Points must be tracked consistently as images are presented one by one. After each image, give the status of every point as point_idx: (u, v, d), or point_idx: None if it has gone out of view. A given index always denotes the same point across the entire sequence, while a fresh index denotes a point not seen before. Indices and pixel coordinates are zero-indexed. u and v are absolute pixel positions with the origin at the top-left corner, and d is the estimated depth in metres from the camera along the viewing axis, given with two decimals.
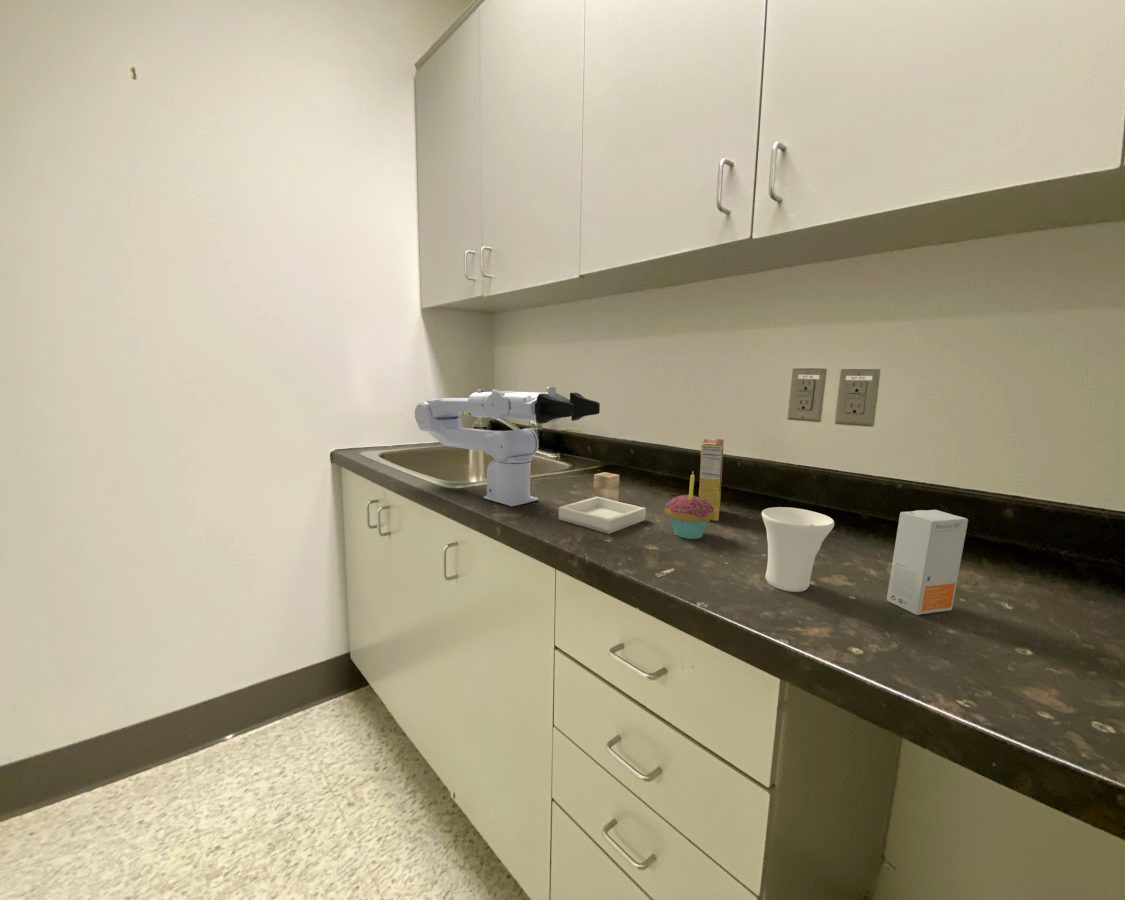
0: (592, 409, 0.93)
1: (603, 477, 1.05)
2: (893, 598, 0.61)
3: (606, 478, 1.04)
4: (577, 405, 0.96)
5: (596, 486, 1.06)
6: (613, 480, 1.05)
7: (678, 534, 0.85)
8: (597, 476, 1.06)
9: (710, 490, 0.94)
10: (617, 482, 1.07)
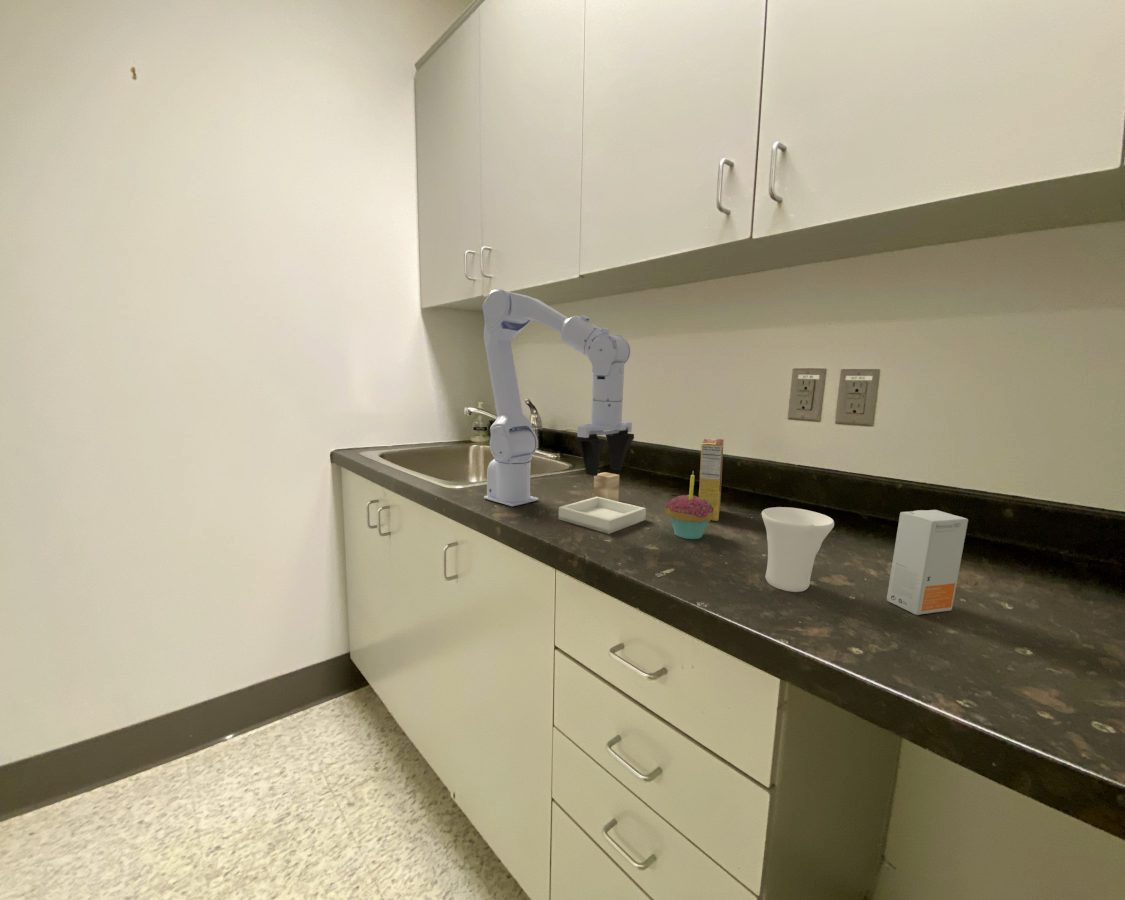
0: (614, 463, 0.95)
1: (603, 477, 1.05)
2: (893, 598, 0.61)
3: (606, 478, 1.04)
4: (618, 444, 0.94)
5: (596, 486, 1.06)
6: (613, 480, 1.05)
7: (678, 534, 0.85)
8: (597, 476, 1.06)
9: (710, 490, 0.94)
10: (617, 482, 1.07)
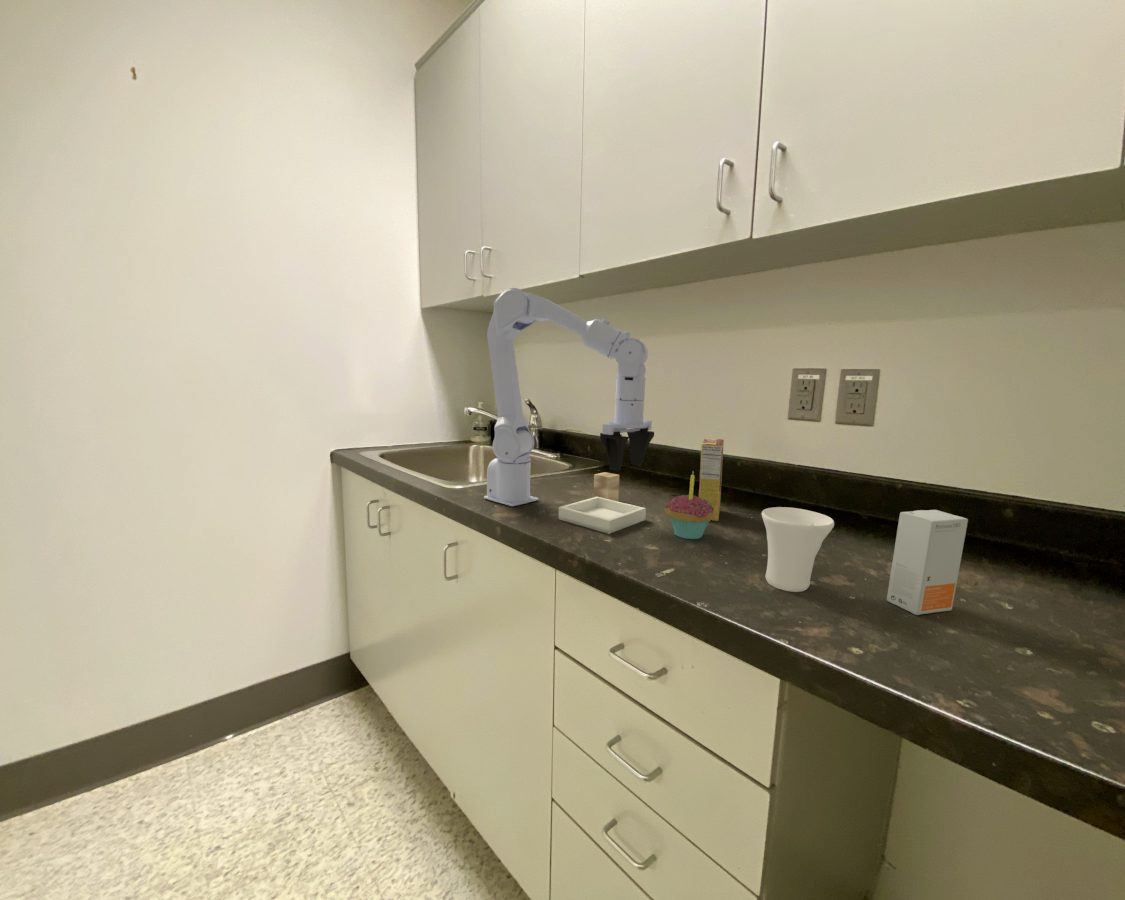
0: (634, 459, 1.00)
1: (603, 477, 1.05)
2: (893, 598, 0.61)
3: (606, 478, 1.04)
4: (638, 441, 0.99)
5: (596, 486, 1.06)
6: (613, 480, 1.05)
7: (678, 534, 0.85)
8: (597, 476, 1.06)
9: (710, 490, 0.94)
10: (617, 482, 1.07)
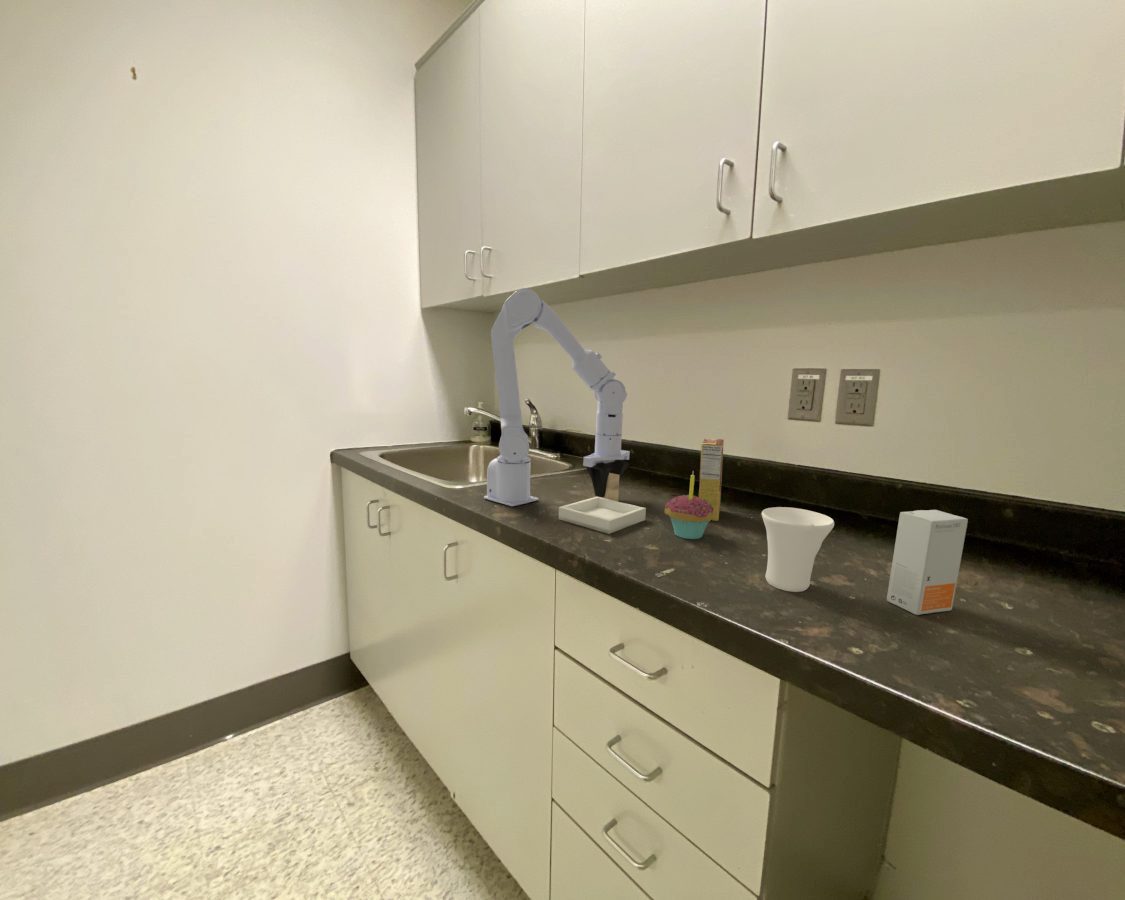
0: None
1: None
2: (893, 598, 0.61)
3: None
4: (613, 471, 1.08)
5: None
6: (613, 480, 1.05)
7: (678, 534, 0.85)
8: None
9: (710, 490, 0.94)
10: (617, 482, 1.07)
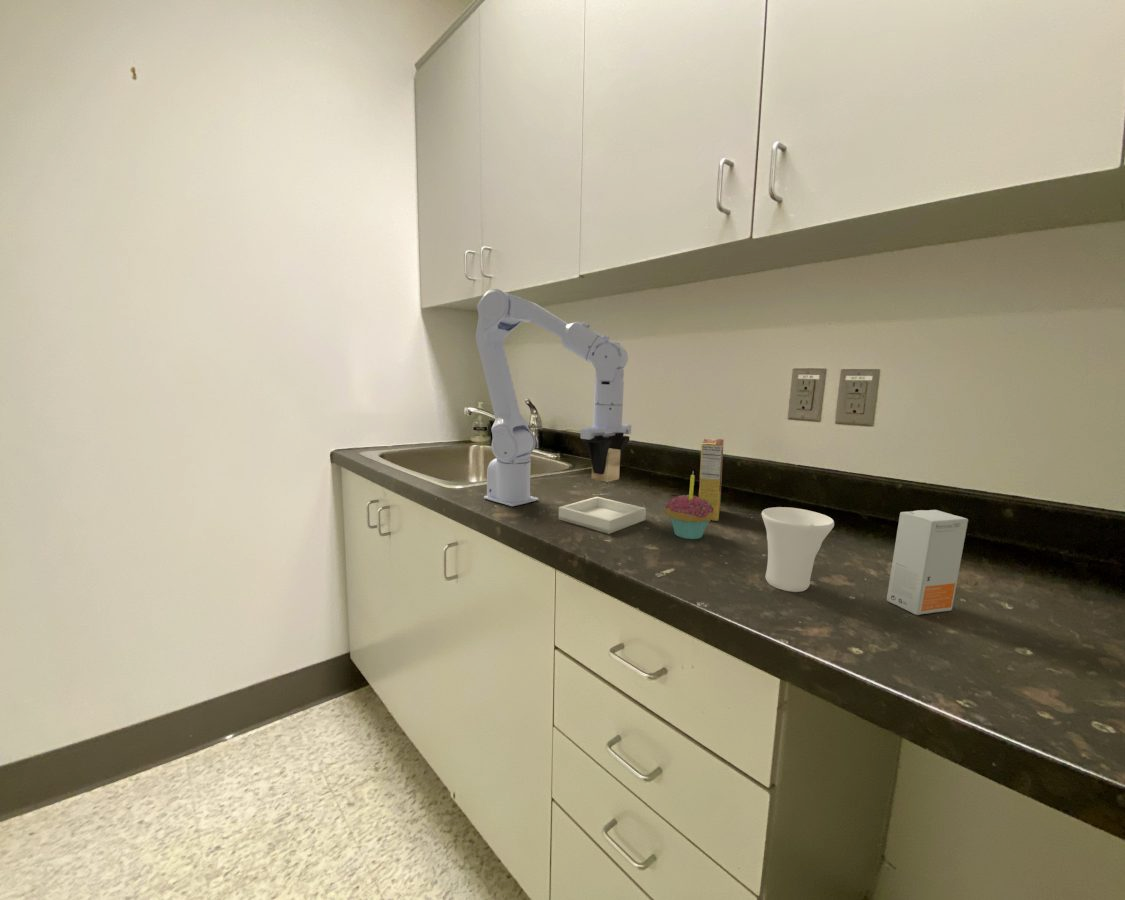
0: None
1: None
2: (893, 598, 0.61)
3: None
4: (614, 445, 0.98)
5: None
6: (613, 455, 0.95)
7: (678, 534, 0.85)
8: None
9: (710, 490, 0.94)
10: (618, 458, 0.96)
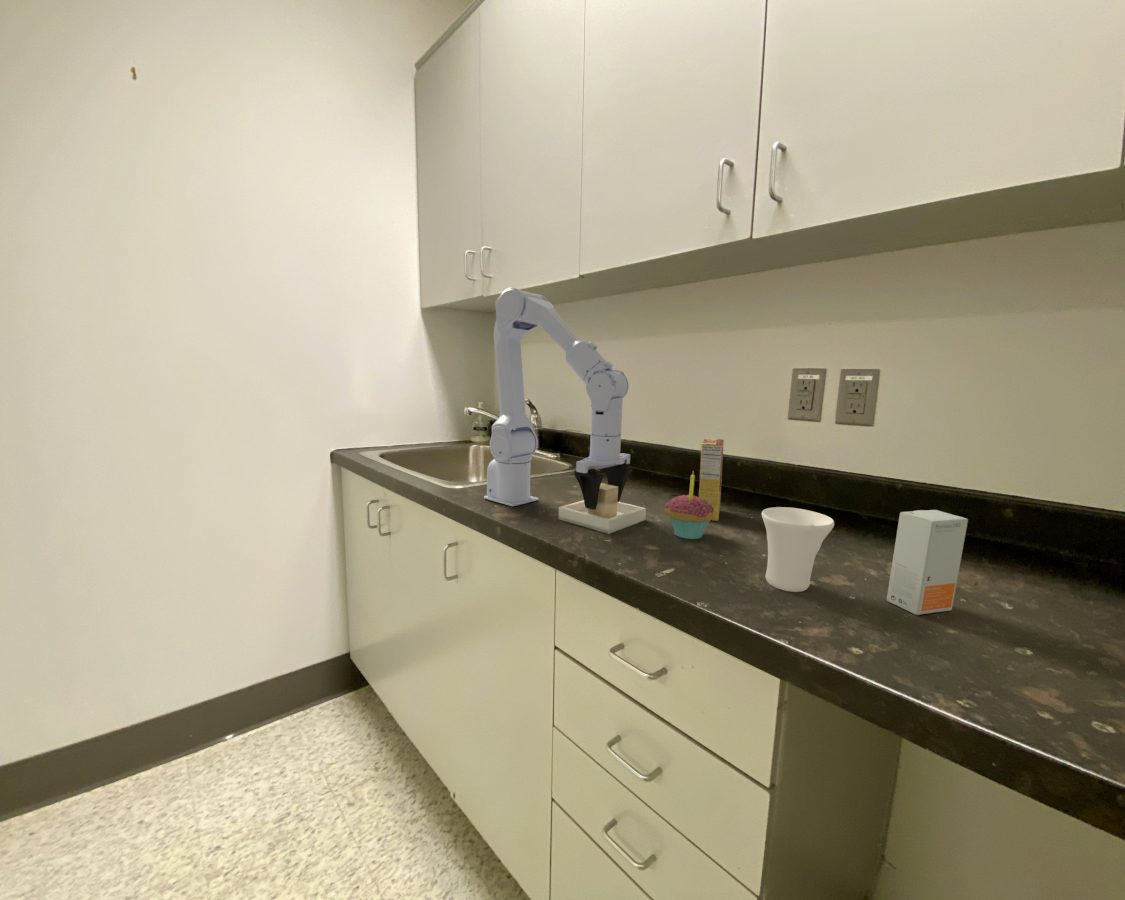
0: None
1: (599, 489, 0.91)
2: (893, 598, 0.61)
3: (603, 491, 0.90)
4: (616, 476, 0.95)
5: None
6: (611, 493, 0.91)
7: (678, 534, 0.85)
8: None
9: (710, 490, 0.94)
10: (615, 495, 0.92)
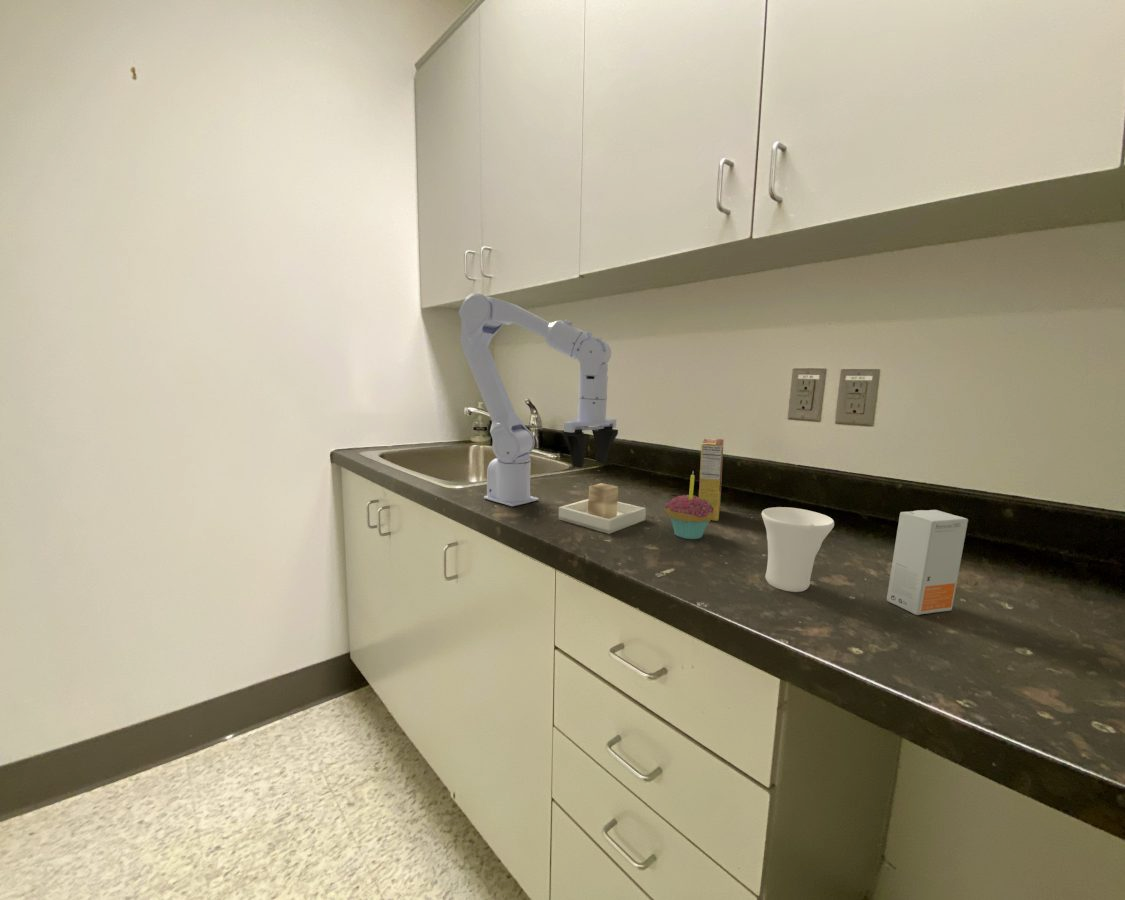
0: (599, 456, 1.02)
1: (599, 489, 0.91)
2: (893, 598, 0.61)
3: (603, 491, 0.90)
4: (603, 438, 1.01)
5: (591, 500, 0.92)
6: (611, 493, 0.91)
7: (678, 534, 0.85)
8: (592, 488, 0.92)
9: (710, 490, 0.94)
10: (615, 495, 0.92)
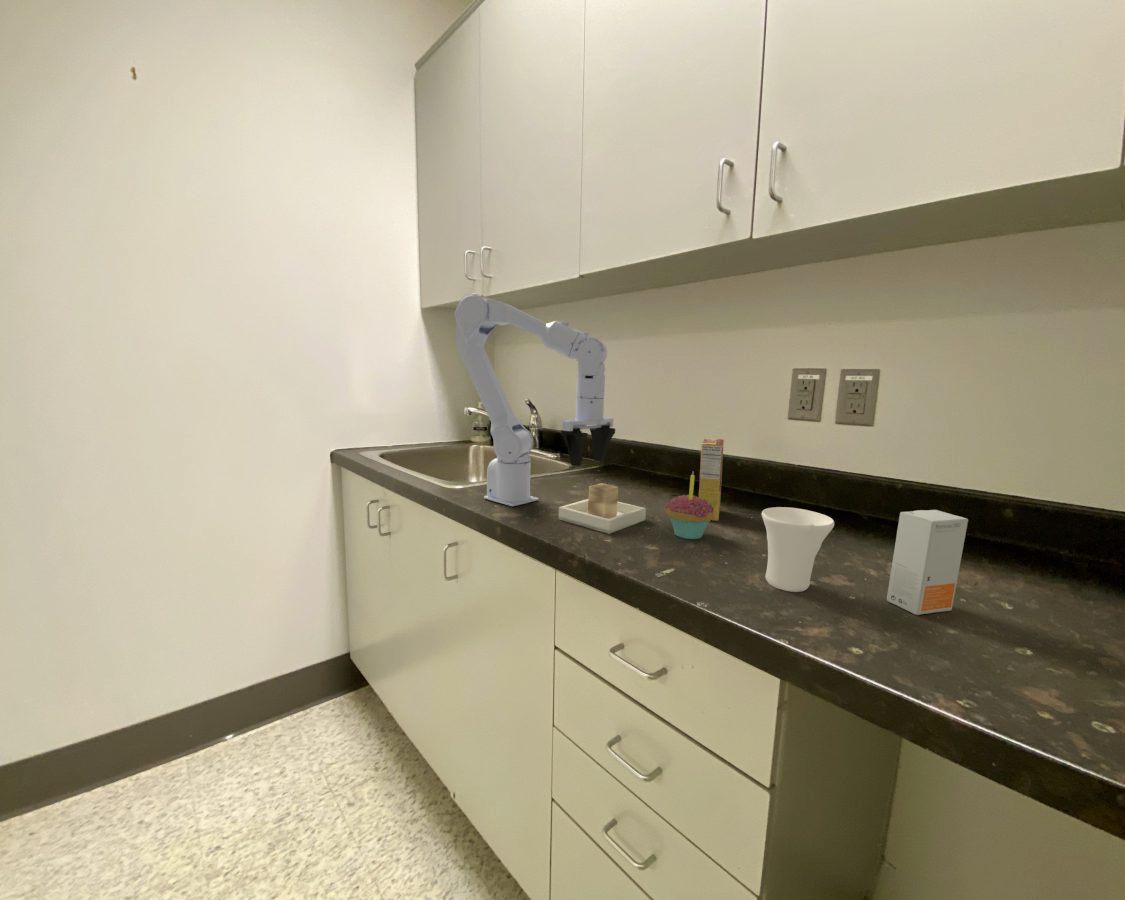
0: (597, 455, 1.04)
1: (599, 489, 0.91)
2: (893, 598, 0.61)
3: (603, 491, 0.90)
4: (600, 437, 1.03)
5: (591, 500, 0.92)
6: (611, 493, 0.91)
7: (678, 534, 0.85)
8: (592, 488, 0.92)
9: (710, 490, 0.94)
10: (615, 495, 0.92)
